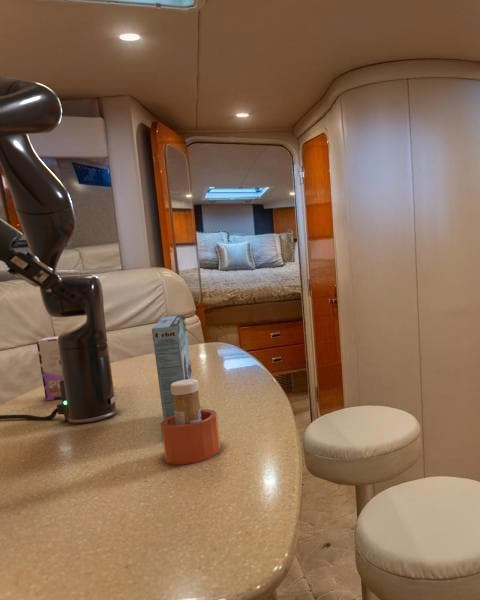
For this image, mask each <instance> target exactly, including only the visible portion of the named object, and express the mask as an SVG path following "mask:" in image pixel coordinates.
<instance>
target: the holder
mask: <svg viewBox="0 0 480 600" xmlns="http://www.w3.org/2000/svg"><path fill="white" fill-rule="evenodd" d="M200 409H201V408H200ZM201 417H202V421H199V422H195V423H191V424H185V425H176V422H175V415H172V416H169V417H167V418H166V419H162V420H161V422H160V429H161V438H162V448H163V454H164V459H165V462H166V463H168V464H170V465H189V464H193V463H198V462H202V461H205V460H207V459H209V458H212V457H215V456H216V455H217V454H218V453H219V452H220V450H221V438H220V437H221V436H220V427H219V419H218V413H217V412H216V410H215V409H208V408H206V409H201Z"/></svg>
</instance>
